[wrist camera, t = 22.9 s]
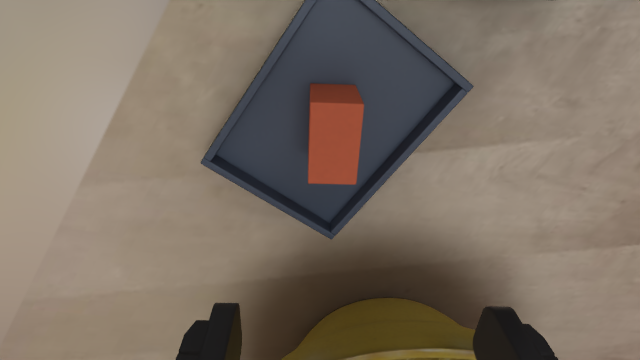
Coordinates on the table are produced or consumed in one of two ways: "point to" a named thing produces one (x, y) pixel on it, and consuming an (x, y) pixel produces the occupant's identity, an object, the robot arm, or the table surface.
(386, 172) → the tray
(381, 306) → the planter bowl
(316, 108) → the sponge
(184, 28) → the table surface
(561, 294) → the table surface
